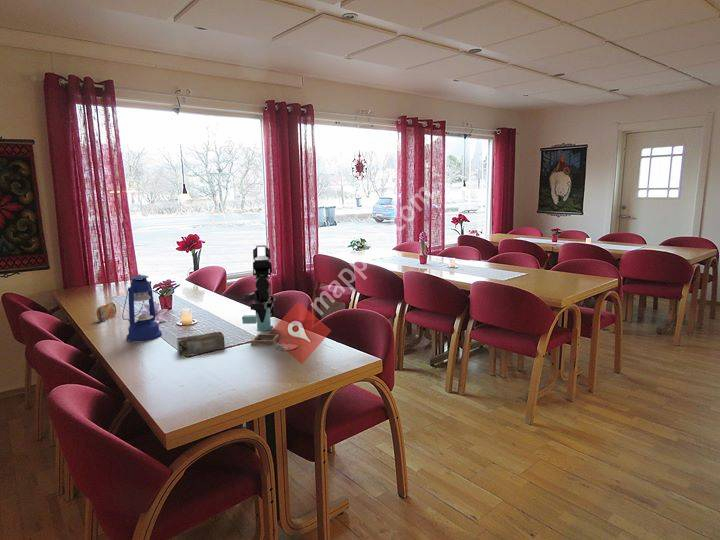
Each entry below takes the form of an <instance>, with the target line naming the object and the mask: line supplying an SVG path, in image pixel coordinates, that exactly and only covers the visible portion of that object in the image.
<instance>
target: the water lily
mask: <svg viewBox="0 0 720 540" xmlns="http://www.w3.org/2000/svg"><path fill="white" fill-rule="evenodd" d="M143 306H144V308H145V309H146V310H141V311H140V310H139V311H140V313H139V314H140V315H141V314H145V315H150V311H149V308H150V307H149V304H148V303H143ZM145 306H146V307H145ZM154 308H155V320H154V322H157V323H158V324H159V323H160V321H164V322H168V321H169V319H168V318H167V317H165V316H163V314H164V313H166V312H168V308H162V309H159V308H160V303H159V302H158V303H157V302H156V301H154Z"/></svg>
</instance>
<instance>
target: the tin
mask: <svg viewBox="0 0 720 540" xmlns="http://www.w3.org/2000/svg"><path fill="white" fill-rule="evenodd" d="M116 315H117V306H116V304H115V303H114V302H106V303H104V304H102V305H100V306H98V307H97V309H96V317H97V319H98V321H100V322H107V321H108V319H109V320H111V319H113V318H114V317H116ZM110 318H111V319H110ZM106 320H107V321H106Z"/></svg>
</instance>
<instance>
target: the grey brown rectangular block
mask: <svg viewBox="0 0 720 540" xmlns="http://www.w3.org/2000/svg"><path fill="white" fill-rule="evenodd" d="M176 346H177V352H178V355H179V356H180V357H181V356H186V355H192V353H194V354H198V353H199V352H200V353H205V351H206V352H211V351H217V349H218V350H224V349H225V347H226V346H225V337H224V334H223V333H222V331H213V332H210V333H204V334H198V335H190V336H189V335H188V336H181V337H177V338H176Z"/></svg>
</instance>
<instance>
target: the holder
mask: <svg viewBox="0 0 720 540" xmlns="http://www.w3.org/2000/svg"><path fill="white" fill-rule="evenodd" d="M259 338H261V339H259ZM271 338H272V339H271ZM278 338H280V335H279V334H271V333H264V334H263V333H257V334H256V335H255V336H253V338H252V339H251V340H250V345H251V346H270V345H273V346H274V345H275V344H276V343H277V342H278V340H279V339H278ZM262 339H263V340H262ZM277 339H278V340H277ZM275 342H276V343H275ZM274 343H275V344H274Z"/></svg>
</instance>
